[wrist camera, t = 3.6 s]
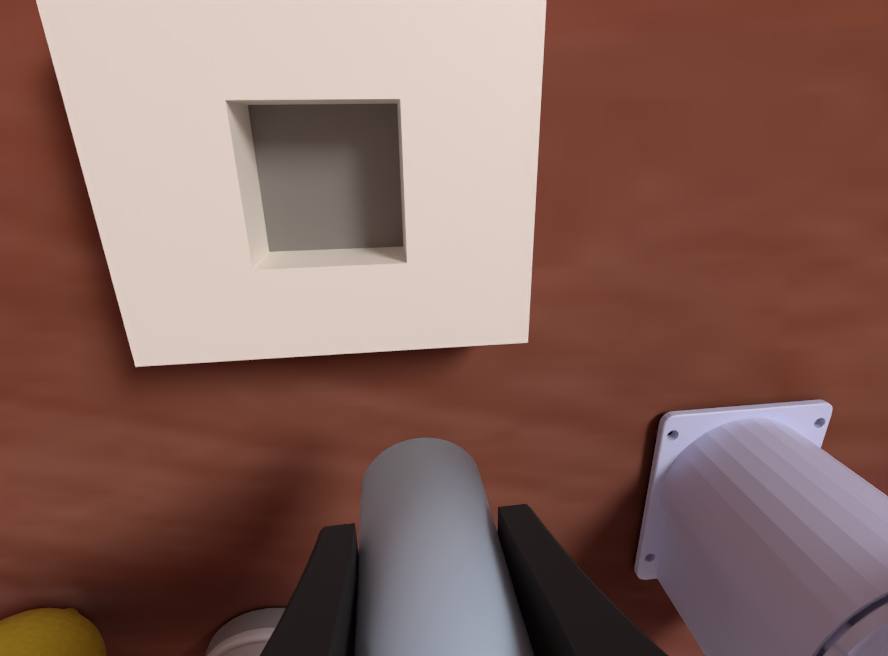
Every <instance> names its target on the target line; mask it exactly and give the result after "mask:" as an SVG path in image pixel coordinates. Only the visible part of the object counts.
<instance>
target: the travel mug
mask: <svg viewBox="0 0 888 656" xmlns="http://www.w3.org/2000/svg"><path fill="white" fill-rule="evenodd" d="M285 609H286V608H265V609H258V610H254V611H251V612H247V613H244V614H242V615H240V616H238V617H236V618H233V619H232V620H231V621H229V622H228V623H226V624H225V625H223V626H222V627H221V628H220V629H219V630H218V631H217V632H216V633H215V634H214V636H213V638H212V639H211V641H210V643H209V645H208V648H207V651H206V654H205V656H260V654H261V652H262V651H263V649H264V647H265V645H266V644H267V642H268V640H269V638H270V637H271V635H272V633H273V631H274V630H275V628H276V626H277V624H278V622H279V620H280V618H281V616H282V614H283V612H284V610H285Z"/></svg>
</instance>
